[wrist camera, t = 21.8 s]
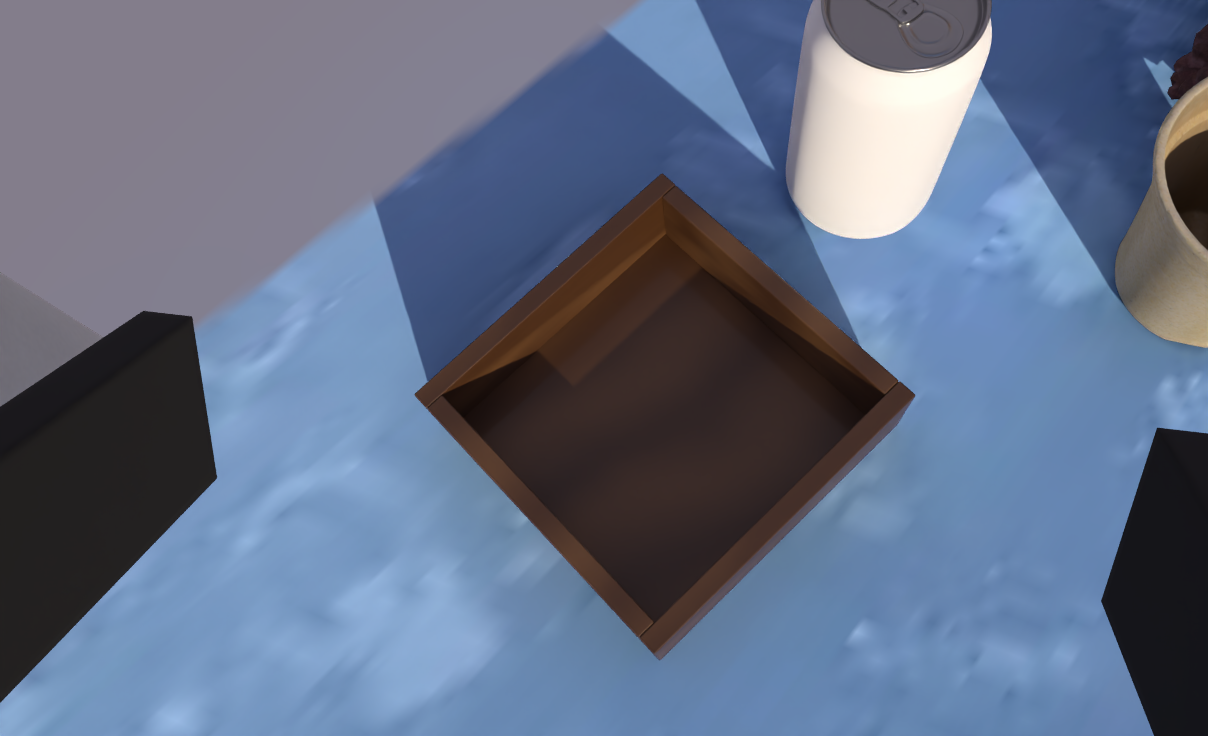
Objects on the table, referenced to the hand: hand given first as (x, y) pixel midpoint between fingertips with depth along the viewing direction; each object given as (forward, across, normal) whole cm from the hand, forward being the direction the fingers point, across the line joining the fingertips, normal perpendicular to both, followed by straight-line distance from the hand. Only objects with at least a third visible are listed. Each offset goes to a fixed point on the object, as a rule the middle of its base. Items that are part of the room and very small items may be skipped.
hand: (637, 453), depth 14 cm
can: (+34, +5, -5) cm, 35 cm away
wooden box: (+25, -2, -14) cm, 29 cm away
